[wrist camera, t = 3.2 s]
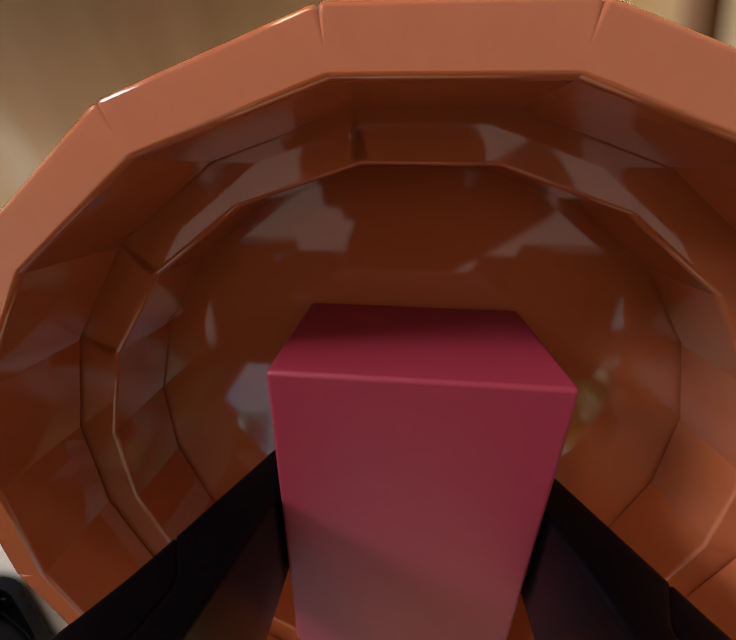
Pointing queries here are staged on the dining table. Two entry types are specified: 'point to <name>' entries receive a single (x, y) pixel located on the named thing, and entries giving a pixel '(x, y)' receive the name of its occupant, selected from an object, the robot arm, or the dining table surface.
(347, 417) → the dark red block
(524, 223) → the bowl
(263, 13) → the dining table surface
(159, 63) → the dining table surface
